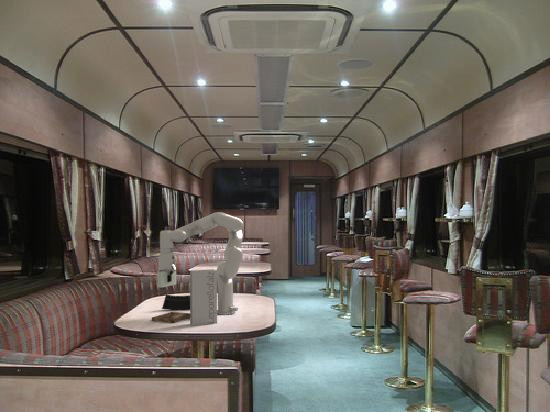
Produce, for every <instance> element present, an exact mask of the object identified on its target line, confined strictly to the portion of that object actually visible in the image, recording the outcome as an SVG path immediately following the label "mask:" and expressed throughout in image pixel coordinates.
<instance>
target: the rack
mask: <svg viewBox="0 0 550 412" xmlns="http://www.w3.org/2000/svg"><path fill="white" fill-rule="evenodd" d="M179 313H182V312H180V311H179V312H178V311H170V312H166V313H162V314H159V315H155V316H152V317H151V322H158V321H159V322H160V323H167V324H169V323H170V324H174V323H177V322H178V323H179V322H180V321H184V320H187V319H190V312H185V313H186V315H184V316H181V317H178V318H175V319H170V318H171V316H174V315H177V314H179ZM159 322H158V323H159Z"/></svg>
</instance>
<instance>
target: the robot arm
mask: <svg viewBox="0 0 550 412" xmlns="http://www.w3.org/2000/svg"><path fill="white" fill-rule="evenodd" d="M218 226H220V227H222V228H225V229H226V230H227V231H228V234H229V236H228V240H227V244H226V247H225V250H224V252H223V257H224V259H225V262H221V263H220V264H218V266H217V268H216V270H217V315H233V314H235V313H236V312H238V311H239V308H238V307H235V305H234V284H233V282H234V281H233V279H234V278H235V277H236V276H237V275H238V273H239V269H240V266H241V263H242V261H243V258H244V257H243V256H244V255H243V250H242V249H241V246H242V243H243V238H244V236H243V231H242V230H243V228H244V222H243V221H242V219H240V218H238V217H236V216H232V215H230V214H227V213H225V212H222V211H218V212H213V213H211V214H208V215H206V216H204V217H202V218H200V219H197V220H195V221H192V222H191V223H188V224H186V225H183V226H181V227H178V228H176V229H174V230H168V229H167V230H161V231H159V232H160V233H159V245H160V246H159V247H160V248H159V252H160V253H159V255H158V268H157V272H161V271H167V270H168V275H167V280H168V282H171V281H172V274H173V273H174V272H175V271H176V272H177V262H176V261H177V260H176V255H175V249H174V242H175V243H183V242H184V241H185V240H186V239H187V238H189V237H192V236H195V235H200V234H203V233H205V232H208V231H210V230H212V229H214V228H216V227H218Z"/></svg>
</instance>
